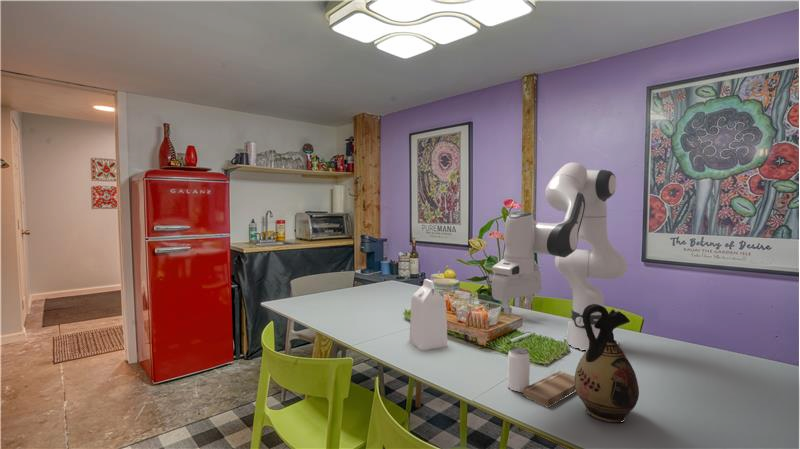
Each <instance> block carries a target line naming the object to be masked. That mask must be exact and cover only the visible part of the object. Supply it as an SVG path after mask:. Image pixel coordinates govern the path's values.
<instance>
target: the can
mask: <svg viewBox="0 0 800 449" xmlns="http://www.w3.org/2000/svg"><path fill="white" fill-rule="evenodd" d="M530 362H531V356H530V354H529V349H527V348H524V347H521V346H511V347H510V348H509V351H508V354H507V377H506V378H507V379H506V380H507V383H506V384H507V387H508V389H509V388H510V389H511V391H512V390H514V391H518V392H517V393H519V392H523V388H525V387H528V386H530V370H531V366H530V365H531V363H530ZM510 389H509V390H510ZM514 391H513V392H514Z"/></svg>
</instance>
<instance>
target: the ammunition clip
mask: <svg viewBox="0 0 800 449" xmlns="http://www.w3.org/2000/svg"><path fill="white" fill-rule="evenodd" d="M464 326H466V327H473V328H478V329H480V328H481V329H485V330H489V331H490V319H489V317H488V316H487V317H486V319H485V315H484V316H482V318H481V316H480V315H479V314H478V317H477V314H474V316H473V313H470V316H469V313H468V312H466V315H465V324H464ZM463 336H464V338H463V341H466V342H465V343H468V342H470V344H472V343H476V341H475V339H474V338H472V337H471V336H468V335H466V334H465V333H464V335H463Z"/></svg>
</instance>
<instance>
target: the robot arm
mask: <svg viewBox="0 0 800 449" xmlns="http://www.w3.org/2000/svg"><path fill="white" fill-rule="evenodd" d="M616 187H617V178H616V175H615V174H614V173H613V171H611V170H607V169H600V170H599V169H586V167H585V166H584V165H583V164H581V163H578V162H573V161H572V162H568V163H566V164H564V165H563V166H562V167H560V168H559V169H558V170H557V171H556V172H555V174H554V175H553V176H552V178H551V179H550V181H549V182H548V183H547V185H546V188H545V190H544V191H545V192H544V196H545V199H546V201H547V203H548V205H550V206H551V207H552V208H553V209H554V210H557V211H561V212H564V213H565V216H564V219H563V221H560V222H554V223H553V222H538V221H537V220H534V219H535V218H534V214H533V213H532V212H529V211H515V212H512V213H509V214H508V215H507V216H506V219H505V225H504V233H503V243H504V252H503V258H502V259H500V261H498V262H497V263H495V264H494V265H492V268H491V269H492V270H491V271H492V273H494V274H493V276H492V280H491V296H492V298H493V300H495V301H499V302H500V303H501V305H502V306H503V313H504V314H506V315H509V314H512V313H513V312H512V310H513V308H512V307H510V303H511V300H513V299H518V298H522V297H525V298H524V301H523V302H522V308H523V309H526V310H528V309H531V304H532V301H533V299H534V294H537V293H541V290H542V287H543V286H542V275H541V271H540V266H539V265H538V264H537V263H536V262H535V254H543V255H550V256H551V255H552V256H555V258H554V266H555V268H556V270H557V272H558V273H559V274H561V275H562V276H563V277H564V278H565V279H566V280H567V282H568V284H569V286H570V288H571V292H572V309H571V313H570V317H571V319H570V320H569V321H568V324H567V331H566V332H567V333H566V336H563V339H564V338H565V339H566V340H567V341H566V343H567V342H568V344H570V345H571V346H574V347H576V348H579V349H584V350H587V349H588V348H589V339H588V337H587V333H586V330H585V326H584V323H583V311H584V309H585V308H586V307H587V306H589V305H592V304H597V305H601V306H603V307H604V303H605V300H604V299H605V296H604V293H603V292H602V290H600V289H599V288H598V287H596V286H594V285H592V284H591V283H589V282H588V279H590V278H591V279H592V278H593V279H600V280H601V279H602V280H615V279H616V280H617V279H621V278H622V277H624V275H625V274H626V272H627V271H628V262H627V260H626V258H625V257H624V255H622V253H620V252H619V251H618V250H616V249H615V247H614V246H613V245H612V244H611V241H610V240H609V237H608V227H607V226H608V224H607V219H608V216H607V215H608V211H607V209H608V207H607V200H609V199H610V198H611V197H612V196H613V195H614V194H615V191H616ZM579 239H580V240H581V241H583V242H584V243H587V244H588V245H589V246H591V249H577V246H578V243H579V242H578V240H579ZM600 317H601V313H599V312H595V313H592V314H591V315H590V322H591V326H592V329H593V333H594V335H595V338H597V337H598V334H599V332H600V329H597V328H595V327H594V326H595V324H596V322H597V321H598V319H599V318H600ZM615 341H616V343H618V342H617V341H618V340H617V339H615ZM568 344H567V345H568ZM571 346H570V347H571Z"/></svg>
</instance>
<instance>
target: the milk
mask: <svg viewBox="0 0 800 449" xmlns="http://www.w3.org/2000/svg"><path fill="white" fill-rule="evenodd" d="M410 304H411V305H410V320H409V338H408V339H409V341H410V342H411V343H412V344H413V345H414V346H415V347H416V348H418V349H419V350H420V351H427V350H434V349H442V348H447V347H448V326H447V325H448V322H447V301H446V299H445V297H444V296H442V294H440V293H439V292H438V291H437V289H435V283H434V280H430V279H428V278H424V279H423V283H422V286H420V287H419V288H418V290H416V292H414V293H413V295H412V297H411V303H410Z"/></svg>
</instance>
